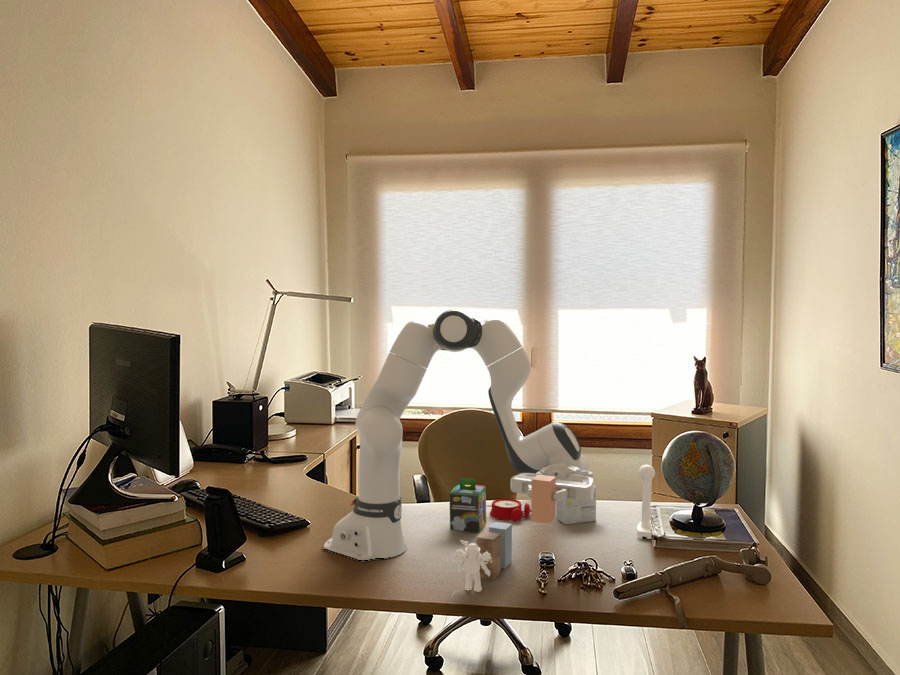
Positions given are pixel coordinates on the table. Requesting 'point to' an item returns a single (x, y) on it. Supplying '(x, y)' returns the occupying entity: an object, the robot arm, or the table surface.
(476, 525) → the chalk box
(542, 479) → the block terracotta
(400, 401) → the robot arm
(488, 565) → the block walnut
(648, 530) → the joystick
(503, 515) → the alarm clock
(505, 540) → the block slate
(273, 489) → the table surface
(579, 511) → the white box
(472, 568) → the flower shoulder figurine
